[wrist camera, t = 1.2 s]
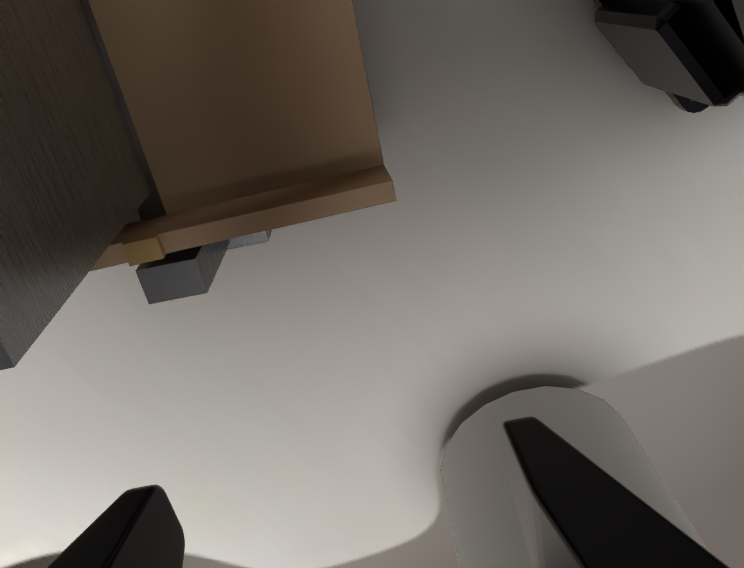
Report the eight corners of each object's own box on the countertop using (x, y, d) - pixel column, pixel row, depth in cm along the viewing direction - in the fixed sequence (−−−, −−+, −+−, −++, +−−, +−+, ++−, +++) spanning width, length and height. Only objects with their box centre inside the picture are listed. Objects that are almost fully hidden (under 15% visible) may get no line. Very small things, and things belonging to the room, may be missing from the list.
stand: (151, -181, 15) (85, -238, 11) (271, 232, 20) (253, 290, 16) (-2, -144, 15) (-117, -188, 12) (153, 255, 20) (108, 319, 16)
